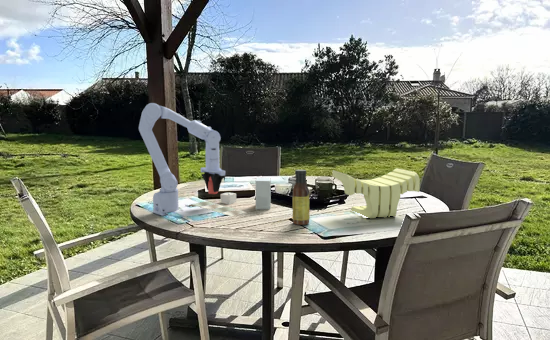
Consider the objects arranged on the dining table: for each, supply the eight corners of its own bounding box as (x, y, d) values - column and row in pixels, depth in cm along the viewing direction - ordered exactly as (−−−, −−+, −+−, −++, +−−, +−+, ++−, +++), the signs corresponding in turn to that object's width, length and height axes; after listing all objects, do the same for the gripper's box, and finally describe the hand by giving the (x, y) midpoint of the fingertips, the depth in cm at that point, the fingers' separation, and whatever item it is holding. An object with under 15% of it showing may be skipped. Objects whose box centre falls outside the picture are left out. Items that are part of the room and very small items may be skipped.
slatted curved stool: (348, 222, 138) (350, 175, 136) (331, 212, 153) (332, 169, 151) (417, 217, 146) (420, 173, 144) (394, 208, 161) (396, 168, 159)
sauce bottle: (312, 224, 135) (314, 170, 132) (298, 226, 132) (299, 171, 129) (302, 220, 140) (303, 168, 138) (288, 222, 137) (289, 169, 135)
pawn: (212, 194, 153) (211, 176, 151) (206, 193, 155) (206, 175, 154) (219, 193, 155) (219, 175, 154) (214, 191, 158) (213, 174, 157)
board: (230, 219, 141) (230, 216, 141) (189, 206, 160) (189, 204, 160) (249, 214, 148) (249, 212, 148) (208, 203, 167) (208, 201, 167)
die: (229, 206, 161) (229, 195, 161) (220, 205, 164) (220, 194, 163) (236, 204, 166) (236, 193, 165) (227, 203, 168) (227, 192, 167)
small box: (256, 207, 161) (256, 177, 159) (270, 207, 161) (270, 177, 159) (255, 211, 153) (255, 180, 151) (270, 211, 153) (270, 180, 151)
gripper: (231, 159, 151) (231, 191, 153) (209, 156, 161) (210, 187, 163) (217, 160, 146) (217, 194, 148) (196, 157, 156) (196, 189, 158)
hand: (213, 190), depth 155 cm, fingers closed on pawn, 4 cm apart
